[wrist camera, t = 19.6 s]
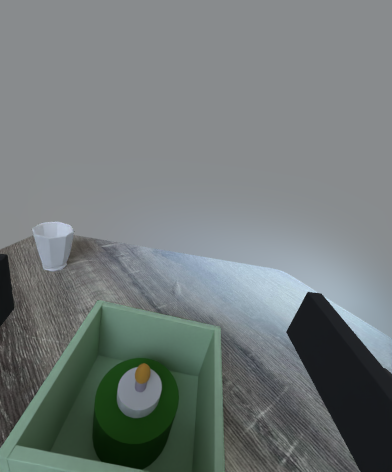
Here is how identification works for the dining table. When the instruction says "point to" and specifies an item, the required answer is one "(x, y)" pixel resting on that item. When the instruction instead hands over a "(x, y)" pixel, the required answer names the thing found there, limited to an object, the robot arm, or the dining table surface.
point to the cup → (53, 244)
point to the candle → (134, 413)
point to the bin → (89, 377)
